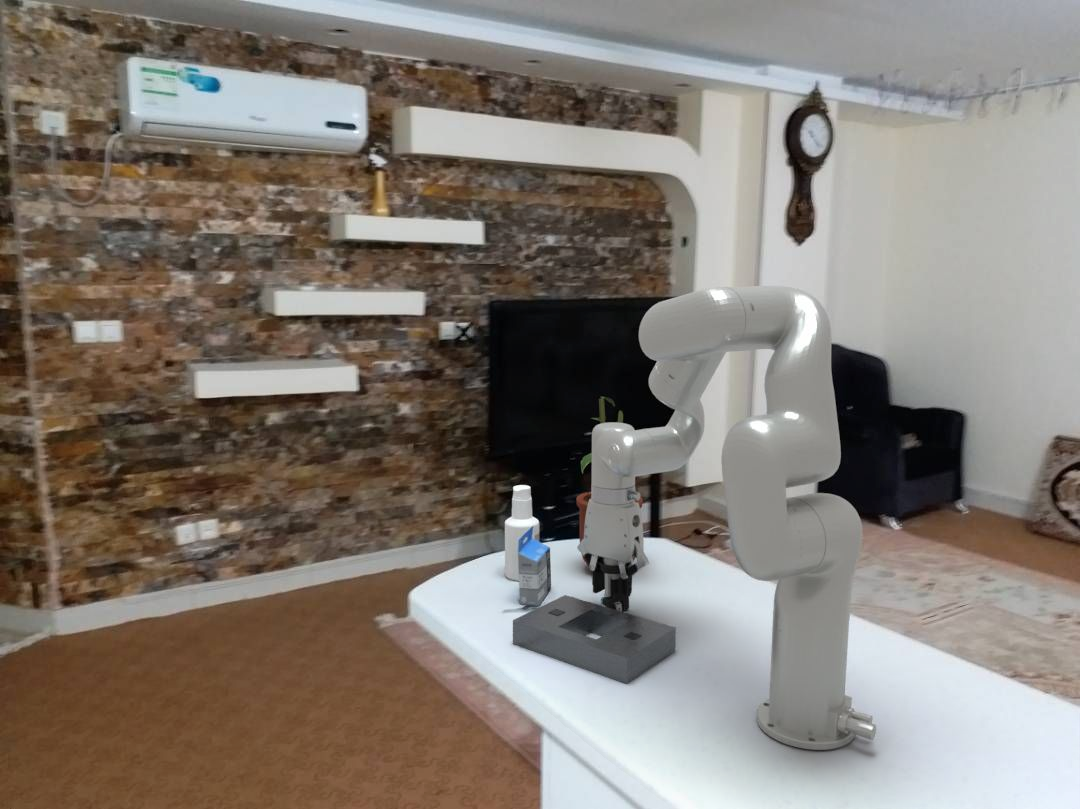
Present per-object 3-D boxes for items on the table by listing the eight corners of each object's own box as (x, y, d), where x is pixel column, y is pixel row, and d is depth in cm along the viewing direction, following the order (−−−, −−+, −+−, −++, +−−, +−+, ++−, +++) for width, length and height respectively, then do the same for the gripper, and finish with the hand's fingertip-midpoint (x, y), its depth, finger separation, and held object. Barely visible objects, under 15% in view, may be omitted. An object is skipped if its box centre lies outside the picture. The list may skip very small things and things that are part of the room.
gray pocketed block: (675, 651, 139) (675, 626, 138) (626, 683, 128) (627, 657, 127) (565, 616, 152) (565, 594, 152) (512, 643, 142) (512, 619, 141)
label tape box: (539, 606, 157) (539, 541, 155) (517, 604, 158) (517, 539, 156) (551, 589, 165) (551, 526, 163) (531, 587, 166) (531, 525, 164)
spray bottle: (546, 575, 173) (546, 486, 170) (522, 584, 168) (522, 493, 165) (521, 567, 177) (521, 481, 174) (497, 575, 172) (497, 487, 169)
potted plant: (562, 569, 176) (563, 398, 170) (614, 552, 186) (617, 390, 181) (627, 593, 163) (630, 408, 158) (679, 573, 174) (684, 399, 168)
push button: (604, 620, 151) (604, 564, 149) (587, 610, 155) (586, 556, 154) (635, 612, 154) (635, 557, 153) (617, 602, 159) (617, 549, 157)
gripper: (666, 497, 149) (664, 599, 152) (586, 482, 159) (585, 578, 162) (643, 507, 143) (641, 612, 146) (561, 490, 154) (560, 589, 156)
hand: (611, 593), depth 154 cm, fingers closed on push button, 4 cm apart
